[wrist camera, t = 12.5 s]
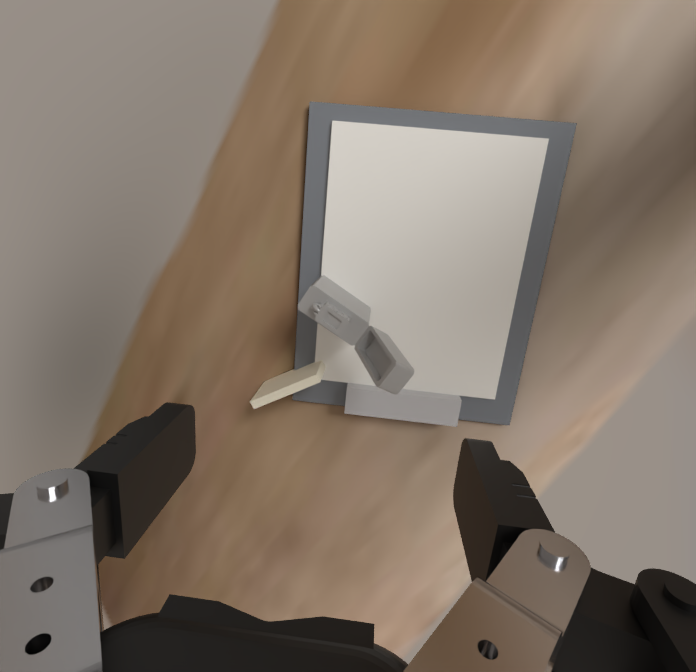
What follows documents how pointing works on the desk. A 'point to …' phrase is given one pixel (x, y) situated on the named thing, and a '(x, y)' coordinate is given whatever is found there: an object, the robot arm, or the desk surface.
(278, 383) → the cream rectangular slab
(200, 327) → the desk surface
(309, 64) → the desk surface
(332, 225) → the clipboard
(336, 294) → the lighter
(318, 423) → the desk surface
